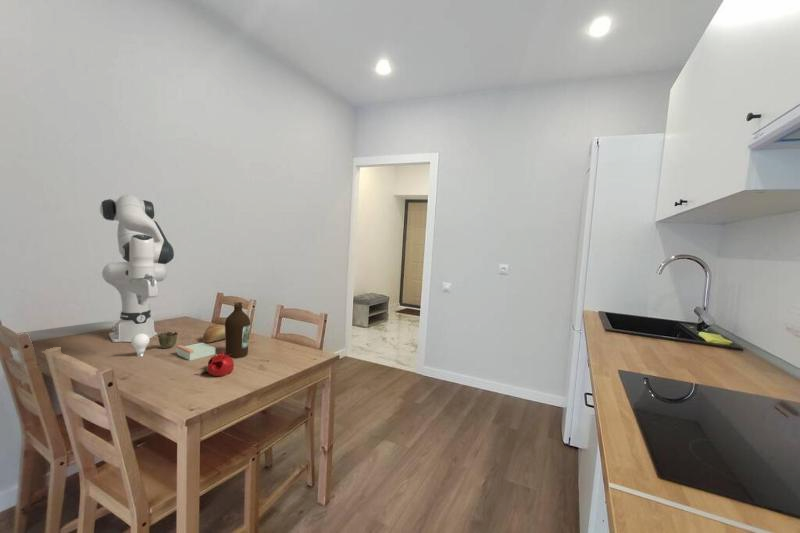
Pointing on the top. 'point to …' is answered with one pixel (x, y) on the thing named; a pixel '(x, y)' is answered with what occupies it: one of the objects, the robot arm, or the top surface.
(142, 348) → the lightbulb
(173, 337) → the cup
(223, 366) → the pomegranate
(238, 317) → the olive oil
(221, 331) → the bread roll
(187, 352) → the mint green flat box
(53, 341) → the top surface
